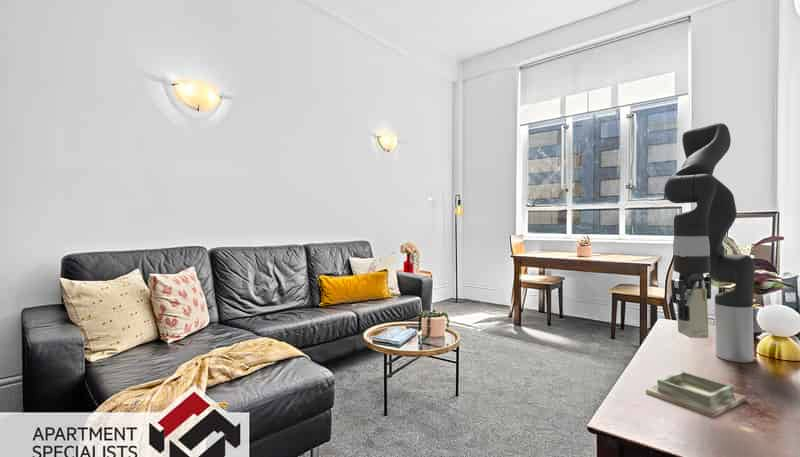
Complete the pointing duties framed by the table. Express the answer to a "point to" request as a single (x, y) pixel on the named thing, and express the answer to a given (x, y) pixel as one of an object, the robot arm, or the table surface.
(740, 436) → the table surface
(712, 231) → the robot arm
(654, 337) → the table surface
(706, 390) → the socket stand
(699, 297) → the skincare box
